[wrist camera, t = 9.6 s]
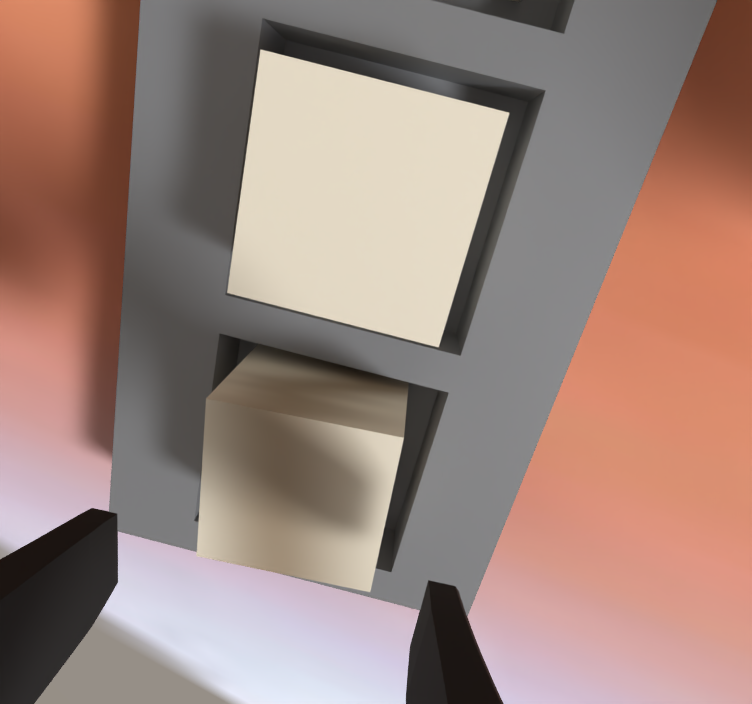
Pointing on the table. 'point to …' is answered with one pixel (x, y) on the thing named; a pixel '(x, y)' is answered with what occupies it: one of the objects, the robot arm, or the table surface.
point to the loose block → (300, 467)
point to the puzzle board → (503, 280)
